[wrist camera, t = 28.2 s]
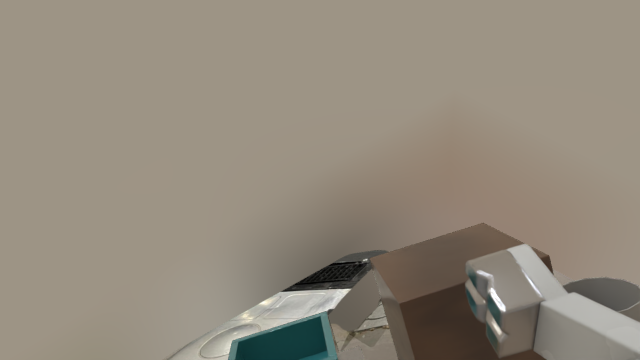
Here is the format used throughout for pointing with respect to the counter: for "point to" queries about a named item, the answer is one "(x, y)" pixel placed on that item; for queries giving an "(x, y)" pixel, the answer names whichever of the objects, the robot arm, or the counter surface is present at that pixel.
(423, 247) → the plinth
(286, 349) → the teal handled box
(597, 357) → the robot arm
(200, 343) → the counter surface
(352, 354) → the scale
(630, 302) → the cup
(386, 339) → the counter surface
